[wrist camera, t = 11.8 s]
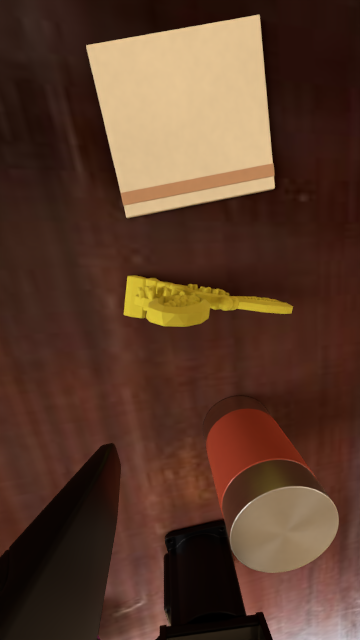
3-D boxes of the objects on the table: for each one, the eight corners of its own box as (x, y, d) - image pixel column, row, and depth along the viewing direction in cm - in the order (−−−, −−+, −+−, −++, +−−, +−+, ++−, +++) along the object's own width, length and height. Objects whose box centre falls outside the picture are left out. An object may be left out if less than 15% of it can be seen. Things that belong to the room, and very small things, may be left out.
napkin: (257, 20, 15) (260, 12, 15) (272, 189, 17) (275, 187, 17) (87, 50, 15) (85, 43, 14) (127, 218, 17) (126, 217, 17)
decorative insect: (194, 278, 24) (298, 298, 17) (190, 310, 24) (287, 340, 18) (57, 265, 14) (171, 296, 8) (56, 317, 15) (158, 386, 8)
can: (266, 388, 21) (338, 474, 13) (273, 446, 23) (341, 559, 14) (196, 403, 21) (220, 501, 12) (208, 461, 23) (237, 584, 14)
